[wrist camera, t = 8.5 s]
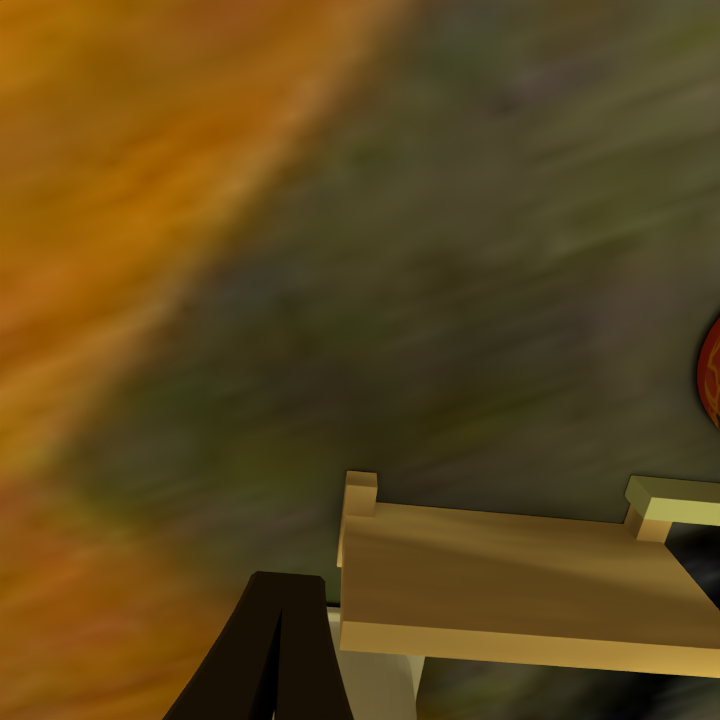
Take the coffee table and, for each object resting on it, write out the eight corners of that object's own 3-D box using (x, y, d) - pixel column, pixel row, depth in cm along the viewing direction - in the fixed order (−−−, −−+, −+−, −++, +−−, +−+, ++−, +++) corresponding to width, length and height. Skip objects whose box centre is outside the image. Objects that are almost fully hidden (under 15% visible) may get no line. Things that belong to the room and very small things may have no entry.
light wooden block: (632, 573, 22) (727, 709, 17) (337, 549, 22) (331, 682, 16) (661, 498, 21) (775, 618, 15) (347, 470, 20) (344, 584, 15)
